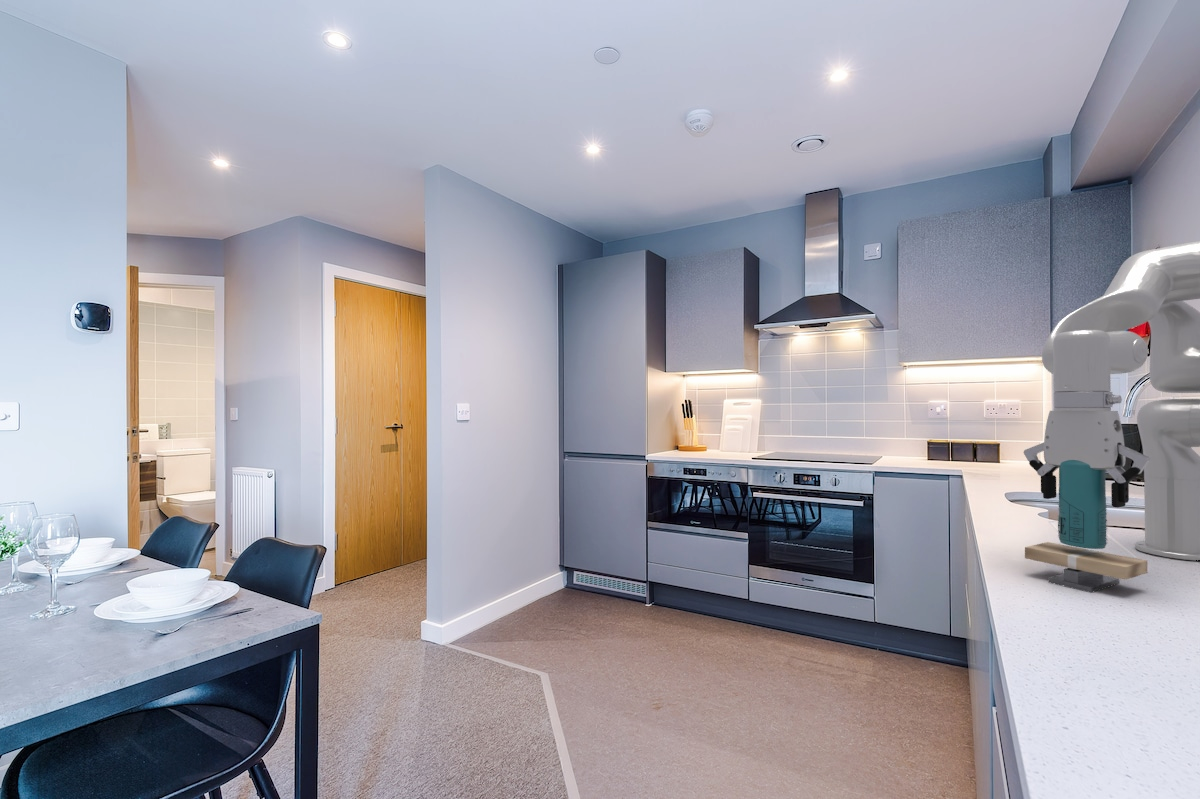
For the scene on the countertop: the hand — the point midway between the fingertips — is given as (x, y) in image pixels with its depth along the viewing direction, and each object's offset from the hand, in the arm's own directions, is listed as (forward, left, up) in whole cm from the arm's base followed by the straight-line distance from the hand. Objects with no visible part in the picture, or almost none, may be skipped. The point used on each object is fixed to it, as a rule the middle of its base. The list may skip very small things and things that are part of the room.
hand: (1082, 502), depth 97 cm
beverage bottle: (0, 0, -9) cm, 9 cm away
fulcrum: (0, 0, -14) cm, 14 cm away
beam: (0, 0, -11) cm, 11 cm away
